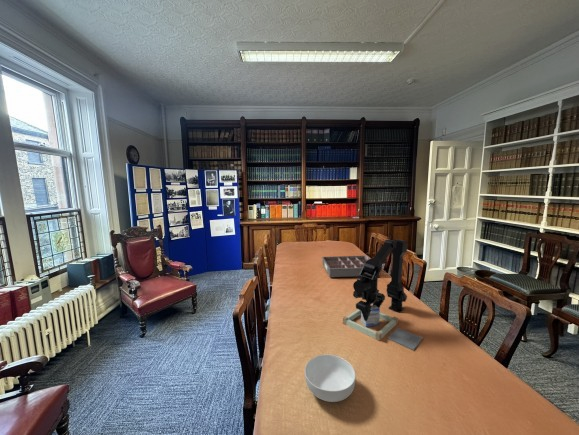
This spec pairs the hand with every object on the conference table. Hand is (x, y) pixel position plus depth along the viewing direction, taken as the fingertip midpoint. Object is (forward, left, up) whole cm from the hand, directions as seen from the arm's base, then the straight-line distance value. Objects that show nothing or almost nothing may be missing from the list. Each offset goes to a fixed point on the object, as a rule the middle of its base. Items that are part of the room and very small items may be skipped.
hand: (370, 317), depth 119 cm
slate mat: (0, +17, -3) cm, 17 cm away
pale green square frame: (0, 0, -3) cm, 3 cm away
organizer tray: (-58, -50, -4) cm, 77 cm away
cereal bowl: (+46, +10, -4) cm, 47 cm away
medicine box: (0, 0, -4) cm, 4 cm away
